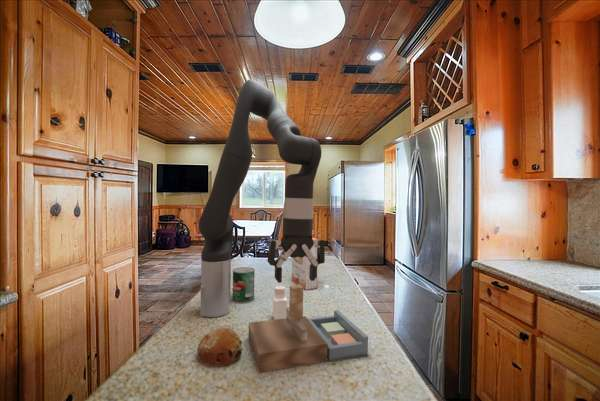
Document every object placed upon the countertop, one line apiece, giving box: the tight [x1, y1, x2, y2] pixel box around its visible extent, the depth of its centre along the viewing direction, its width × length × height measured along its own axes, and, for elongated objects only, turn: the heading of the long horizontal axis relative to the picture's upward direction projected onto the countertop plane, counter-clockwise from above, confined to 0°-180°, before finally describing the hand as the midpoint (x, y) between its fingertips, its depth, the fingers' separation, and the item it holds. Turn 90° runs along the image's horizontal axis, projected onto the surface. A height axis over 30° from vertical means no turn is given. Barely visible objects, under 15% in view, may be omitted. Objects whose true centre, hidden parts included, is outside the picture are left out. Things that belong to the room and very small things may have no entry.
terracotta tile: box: [331, 333, 357, 345], centre depth 73 cm, size 5×5×2 cm
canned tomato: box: [231, 266, 256, 304], centre depth 105 cm, size 8×8×11 cm
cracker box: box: [291, 237, 318, 291], centre depth 124 cm, size 14×6×21 cm, turn 25°
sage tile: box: [321, 322, 345, 338], centre depth 80 cm, size 5×5×2 cm
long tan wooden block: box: [286, 284, 307, 343], centre depth 74 cm, size 3×14×11 cm, turn 18°
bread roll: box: [196, 326, 244, 367], centre depth 69 cm, size 10×10×8 cm
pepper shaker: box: [272, 285, 288, 320], centre depth 90 cm, size 4×4×10 cm
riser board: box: [248, 315, 328, 373], centre depth 72 cm, size 16×16×4 cm
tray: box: [307, 309, 369, 362], centre depth 76 cm, size 10×17×4 cm, turn 18°
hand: (295, 280), depth 72 cm, fingers open, 8 cm apart
